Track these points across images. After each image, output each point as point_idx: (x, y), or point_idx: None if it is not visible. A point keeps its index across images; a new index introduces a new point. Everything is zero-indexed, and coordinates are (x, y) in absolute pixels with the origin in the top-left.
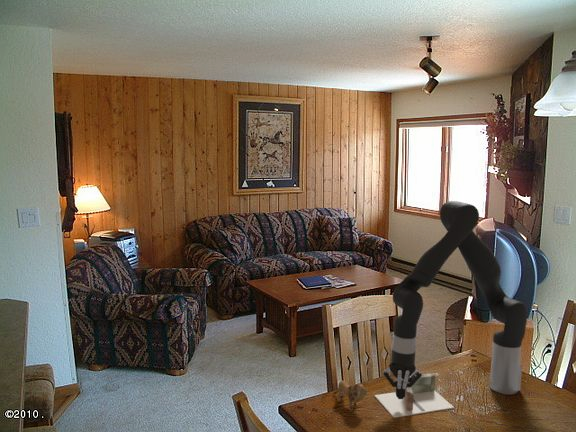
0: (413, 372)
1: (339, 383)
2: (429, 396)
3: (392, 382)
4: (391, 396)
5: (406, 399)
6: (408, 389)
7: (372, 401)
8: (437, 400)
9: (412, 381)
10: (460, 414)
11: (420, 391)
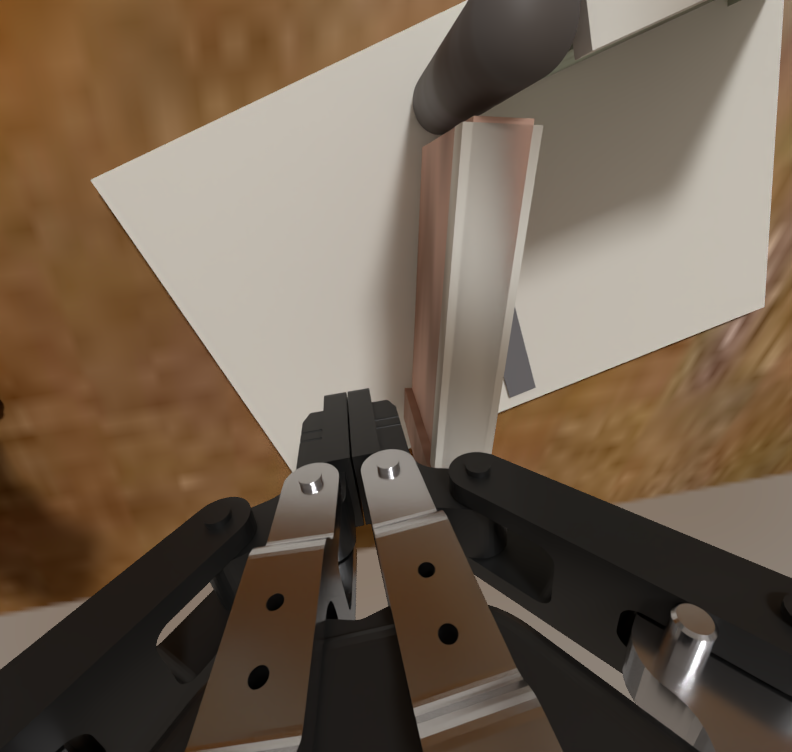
0: (675, 704)
1: None
2: (660, 137)
3: (217, 646)
4: (279, 188)
5: (419, 310)
6: (455, 424)
7: (103, 290)
8: (696, 212)
9: (539, 604)
10: (748, 373)
11: (611, 46)
